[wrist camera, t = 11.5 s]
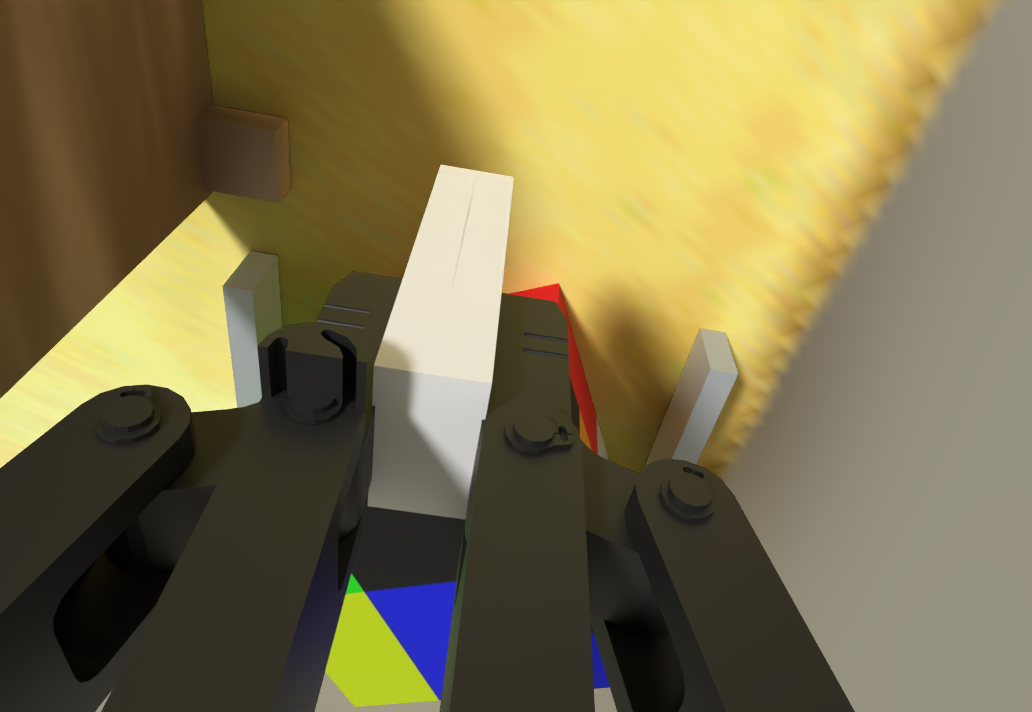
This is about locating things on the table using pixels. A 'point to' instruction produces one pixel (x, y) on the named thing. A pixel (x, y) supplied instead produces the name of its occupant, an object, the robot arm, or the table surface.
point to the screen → (107, 154)
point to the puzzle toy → (422, 584)
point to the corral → (679, 435)
